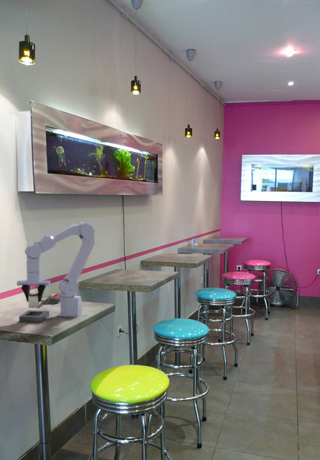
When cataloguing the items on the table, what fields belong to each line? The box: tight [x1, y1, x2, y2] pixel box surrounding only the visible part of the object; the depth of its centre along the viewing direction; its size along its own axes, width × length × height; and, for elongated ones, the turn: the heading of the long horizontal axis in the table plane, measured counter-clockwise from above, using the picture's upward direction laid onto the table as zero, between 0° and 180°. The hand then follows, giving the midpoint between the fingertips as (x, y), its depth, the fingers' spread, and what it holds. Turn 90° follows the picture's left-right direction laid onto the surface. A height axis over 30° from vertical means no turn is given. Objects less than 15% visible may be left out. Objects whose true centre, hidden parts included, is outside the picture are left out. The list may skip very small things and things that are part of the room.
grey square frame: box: [18, 309, 50, 324], centre depth 190 cm, size 10×10×2 cm
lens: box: [27, 291, 40, 309], centre depth 189 cm, size 5×5×6 cm
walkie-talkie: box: [39, 292, 61, 307], centre depth 219 cm, size 9×4×20 cm
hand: (34, 301), depth 189 cm, fingers closed on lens, 5 cm apart
